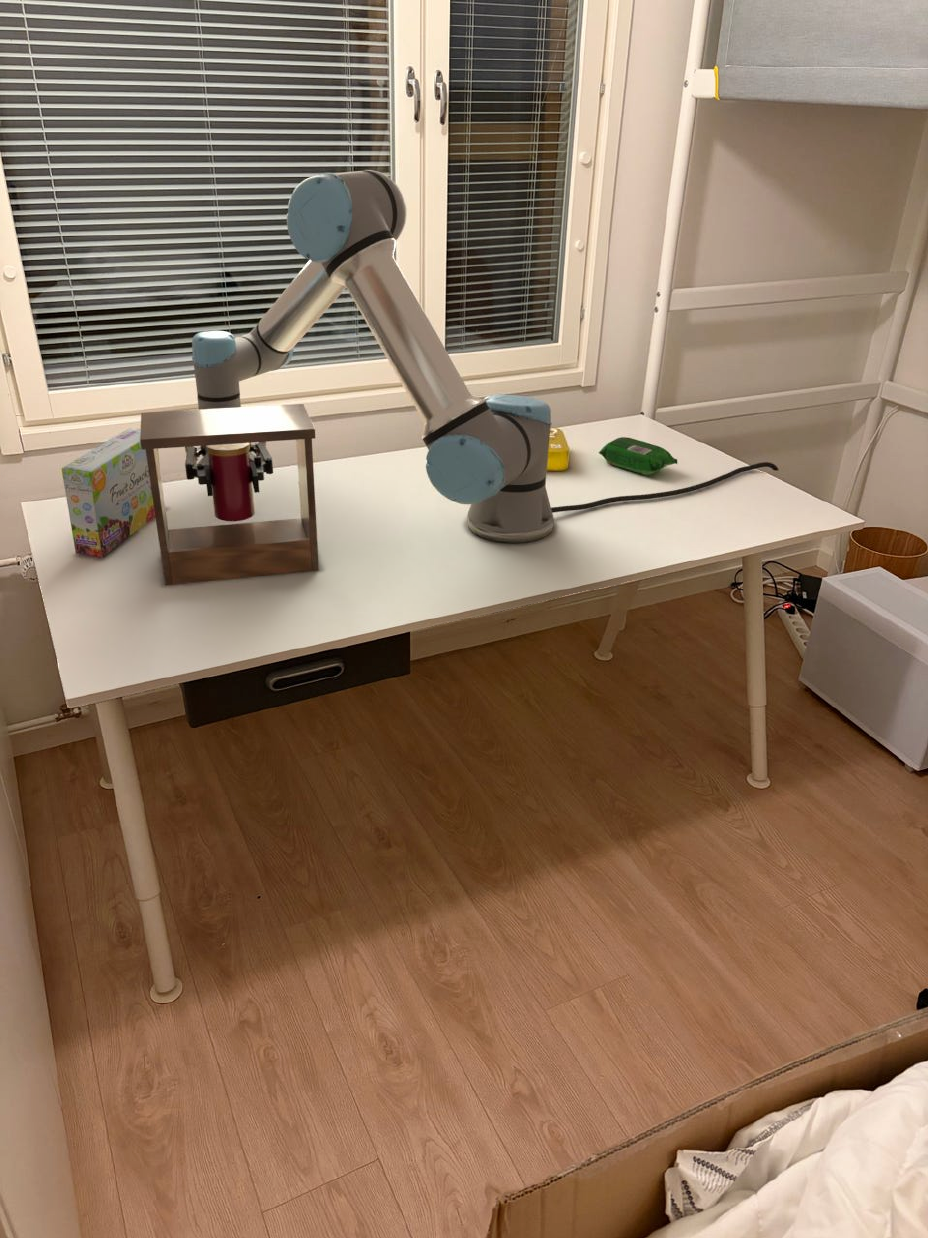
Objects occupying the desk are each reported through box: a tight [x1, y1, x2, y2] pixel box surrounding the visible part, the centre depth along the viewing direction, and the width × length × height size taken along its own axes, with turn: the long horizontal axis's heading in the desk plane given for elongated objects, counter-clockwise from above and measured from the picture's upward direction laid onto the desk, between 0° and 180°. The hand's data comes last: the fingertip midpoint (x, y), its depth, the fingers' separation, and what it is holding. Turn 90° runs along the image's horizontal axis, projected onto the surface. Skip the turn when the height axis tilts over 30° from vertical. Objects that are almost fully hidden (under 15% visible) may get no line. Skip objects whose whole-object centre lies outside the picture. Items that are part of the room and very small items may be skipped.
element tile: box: [547, 427, 570, 472], centre depth 197 cm, size 15×15×5 cm
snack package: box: [598, 436, 678, 476], centre depth 193 cm, size 7×16×5 cm, turn 46°
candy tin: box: [206, 443, 256, 523], centre depth 150 cm, size 7×7×12 cm
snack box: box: [61, 427, 162, 558], centre depth 157 cm, size 21×6×15 cm, turn 168°
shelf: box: [140, 403, 320, 586], centre depth 147 cm, size 25×13×24 cm, turn 106°
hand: (233, 486), depth 145 cm, fingers closed on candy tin, 6 cm apart
